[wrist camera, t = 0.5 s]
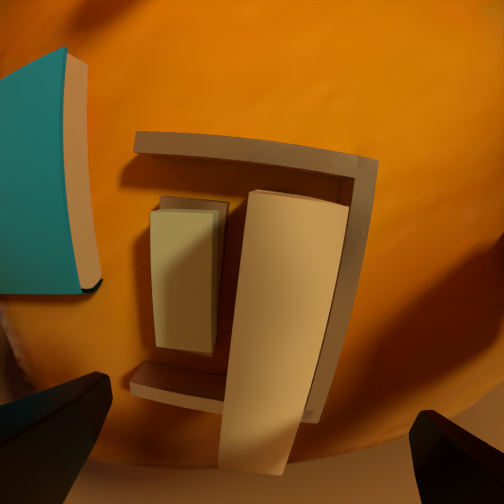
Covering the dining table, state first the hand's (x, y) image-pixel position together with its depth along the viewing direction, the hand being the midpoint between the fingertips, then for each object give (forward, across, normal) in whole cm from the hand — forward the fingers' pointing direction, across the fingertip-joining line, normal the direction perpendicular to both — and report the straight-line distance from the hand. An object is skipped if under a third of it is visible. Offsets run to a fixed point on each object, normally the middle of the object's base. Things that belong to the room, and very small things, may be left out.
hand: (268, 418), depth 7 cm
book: (+13, +26, -3) cm, 29 cm away
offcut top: (+11, +5, 0) cm, 12 cm away
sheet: (+13, 0, 0) cm, 13 cm away
